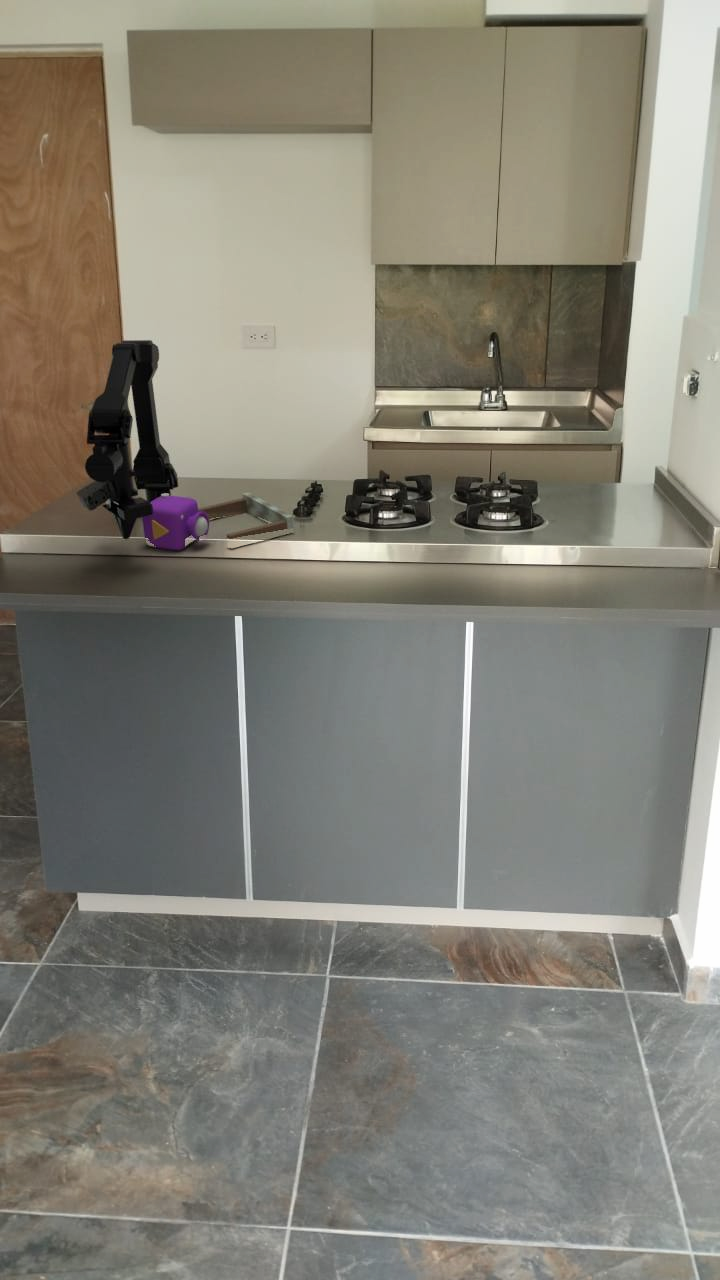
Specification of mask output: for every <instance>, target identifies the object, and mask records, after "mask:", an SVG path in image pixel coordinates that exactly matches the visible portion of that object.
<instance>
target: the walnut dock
mask: <svg viewBox="0 0 720 1280" xmlns="http://www.w3.org/2000/svg"><path fill="white" fill-rule="evenodd" d="M201 511H203V512H205V513H206V514H207V515H208V518H209V519H211V518H216V517H223V516H229V515H233V516H236V515H235V514H237V515H240V513H241V514H245V513H249V514H250V515H251V514H252V516H253V515H254V516H253V517H255V516H257V517H260V518H262V519H265V520H267V521H270V522H272V523H270V524H267V523H266V524H262V525H258V526H255V527H251V528H246V529H243V530H238V531H234V532H231V533H228V534H226V539H227V538H229V539H233V538H237V537H242V536H248V535H255V534H261V533H266V532H273V531H278V530H284V529H290V528H294V516H293V515H291V514H289V513H288V512H286V511H284V510H282V509H280V508H278V507H277V506H275V505H273V504H271V503H269V502H267V501H265V500H263V499H261V498H259V497H258V496H256V495H254V494H252V493H250V492H245V493H242V498H238V499H233V500H229V501H228V500H227V501H225V502H219V503H216V504H212V505H207V506H203V507H200V508H199V507H198V512H201ZM229 517H230V516H229ZM257 517H256V518H257Z"/></svg>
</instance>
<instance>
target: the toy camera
mask: <svg viewBox="0 0 720 1280" xmlns="http://www.w3.org/2000/svg"><path fill="white" fill-rule="evenodd" d="M150 503H151V504H152V506H153V514H152V515H149V516H144V517H141V520H142V527H143V536H144V539H145V538H148V539H149V540H148V541H150V543H152V544H154V546H156V547H159V548H158V549H164V550H170V551H171V550H172V551H181V550H183V549H185V548H186V547H185V539H186V538H187V537H189V536H191V535H192V536H193V537H194V538H195V539H196V540H195V541H198V542H200V541H199V537H200V536H203V535H207V536H208V534H209V530H210V521H209V518H208V515H207V514H206V513H205V512H203V511H201V512H198V508H199V506H198V502H197V500H196V499H194V498H191V497H184V496H177V495H171V496H169V494H168V493H164V494H161V496H160V497H158V498H157V499H155V500H153V501H152V502H150ZM156 547H155V548H156ZM184 547H185V548H184Z"/></svg>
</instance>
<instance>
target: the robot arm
mask: <svg viewBox="0 0 720 1280" xmlns="http://www.w3.org/2000/svg"><path fill="white" fill-rule="evenodd" d="M111 354H112V355H111V356H112V359H111V363H110V366H109V371H108V375H107V378H106V381H105V382H106V383H105V387H104V390H103V393H101V394H100V395H99V396H97V397H96V398H95V400H94V402H93V404H92V407H91V409H90V410H89V413H88V423H87V433H86V443H87V445H94V446H93V447H92V453H91V454H90V455H89V456H88V457H87V458H86V461H85V464H84V469H85V473H86V474H87V475H88V477H89V478H90V479H92V480H93V482H91V483H89V484H87V485H86V486H84V487H82V488H81V489H78V491H76V495H77V497H78V499H79V502H80V503H81V505H82V506H83V508H86V509H87V510H88V511H91V512H92V511H93V510H96V509H97V508H99V507H100V506H102V508H104V510H106V511H107V512H110V514H112V516H113V519H114V521H115V522H116V525H117V527H118V530H119V532H120V534H121V537H122V539H124V540H128V539H130V537H131V536H132V535H131V534H132V531H133V528H134V526H135V524H136V520H137V519H140V518H142V517H144V516H149V515H152V514H153V506H152V504H151V503H150V502H152V501H153V500H155V499H157V498H158V497H160V496H161V494H164V493H168V494H169V496H172V493H171V491H172V490H174V489H175V488H178V487H179V478H178V473H177V471H176V469H175V467H174V466H173V464H172V463H171V461H170V460H171V459H170V455H169V453H168V451H167V450H166V449H165V448H164V446H163V445H162V444H161V441H160V433H159V425H158V417H157V409H156V407H157V406H156V400H155V392H154V384H153V378H154V377H155V374H156V372H157V370H158V367H159V363H158V362H159V360H160V350H159V346H158V345H156V344H155V343H153V341H152V339H151V340H150V339H146V340H145V339H144V340H143V339H141V340H140V339H138V340H137V339H135V340H134V339H133V340H131V339H129V340H126V339H124V340H122V342H117V343H116V344H115V343H114V344H113V345H112V348H111ZM130 390H131V392H132V401H133V409H134V410H133V411H134V416H135V417H134V418H135V423H136V430H137V431H136V432H137V437H138V438H137V439H138V446H139V448H138V450H137V453H136V455H135V457H134V459H133V462H132V463H133V466H132V463H131V456H130V449H129V448H130V447H129V439H130V438H131V435H132V428H133V421H134V420H133V419H134V418H133V415H132V413H131V411H130V407H129V406H128V400H129V395H130ZM95 433H96V434H95ZM133 478H134V479H133ZM134 482H135V485H136V486H135V487H136V488H135V487H134ZM138 490H145V491H144V492H145V498H146V499H145V498H143V497H141V496H140V497H136V496H139V493H138Z"/></svg>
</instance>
